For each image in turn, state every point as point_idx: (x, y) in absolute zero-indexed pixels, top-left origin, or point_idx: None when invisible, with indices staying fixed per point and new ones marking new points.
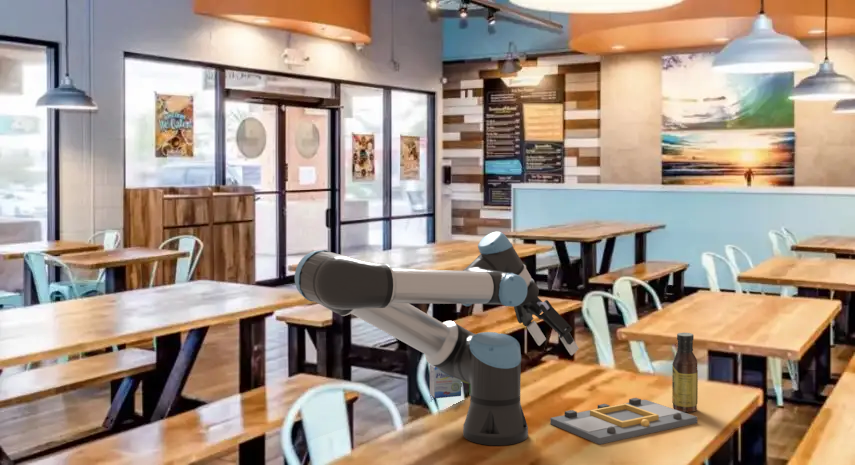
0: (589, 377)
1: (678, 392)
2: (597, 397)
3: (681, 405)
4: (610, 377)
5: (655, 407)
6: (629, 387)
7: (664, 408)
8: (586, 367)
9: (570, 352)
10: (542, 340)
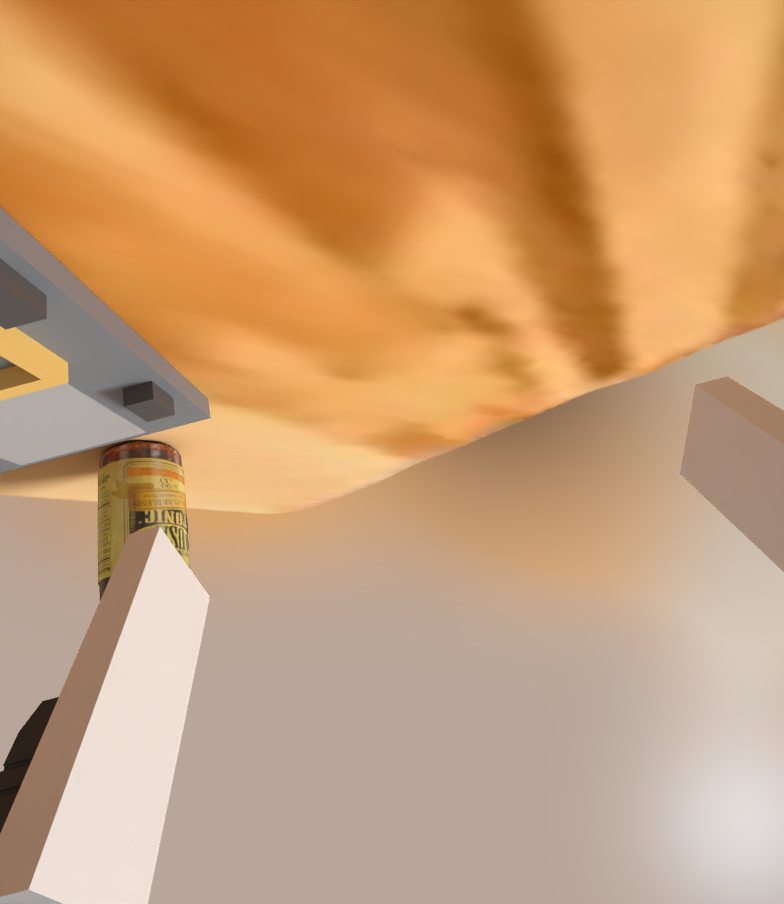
0: (584, 341)
1: (110, 507)
2: (359, 309)
3: (103, 470)
4: (535, 379)
5: (84, 428)
6: (418, 396)
7: (70, 442)
8: (660, 354)
9: (117, 567)
10: (700, 450)
